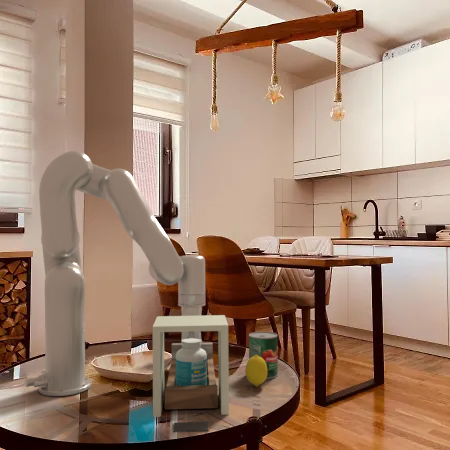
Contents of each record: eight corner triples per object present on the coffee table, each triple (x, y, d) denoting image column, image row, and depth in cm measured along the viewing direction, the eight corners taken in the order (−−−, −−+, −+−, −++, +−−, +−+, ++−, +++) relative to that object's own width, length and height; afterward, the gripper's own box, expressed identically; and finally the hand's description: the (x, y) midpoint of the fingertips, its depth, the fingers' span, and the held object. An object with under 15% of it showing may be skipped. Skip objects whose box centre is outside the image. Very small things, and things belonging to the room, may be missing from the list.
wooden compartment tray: (217, 407, 103) (217, 376, 103) (164, 409, 103) (164, 378, 103) (212, 366, 135) (212, 342, 135) (172, 367, 134) (172, 343, 135)
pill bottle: (195, 405, 106) (194, 345, 106) (169, 399, 110) (168, 341, 110) (213, 395, 113) (212, 338, 113) (187, 389, 116) (187, 335, 117)
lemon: (266, 390, 115) (265, 358, 116) (244, 389, 117) (243, 357, 117) (268, 383, 121) (268, 352, 121) (247, 382, 122) (247, 351, 122)
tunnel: (228, 414, 101) (228, 325, 101) (153, 416, 100) (152, 326, 100) (225, 394, 113) (224, 315, 113) (157, 396, 112) (157, 316, 112)
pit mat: (208, 431, 92) (208, 429, 92) (172, 432, 92) (172, 430, 92) (207, 422, 96) (207, 421, 96) (173, 423, 96) (173, 422, 96)
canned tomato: (252, 369, 133) (252, 330, 133) (279, 371, 131) (279, 332, 131) (246, 378, 126) (245, 337, 126) (275, 380, 123) (274, 338, 124)
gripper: (179, 296, 137) (180, 359, 137) (176, 304, 122) (177, 374, 122) (205, 295, 138) (205, 358, 137) (205, 303, 123) (206, 374, 123)
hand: (192, 365), depth 130 cm, fingers closed
